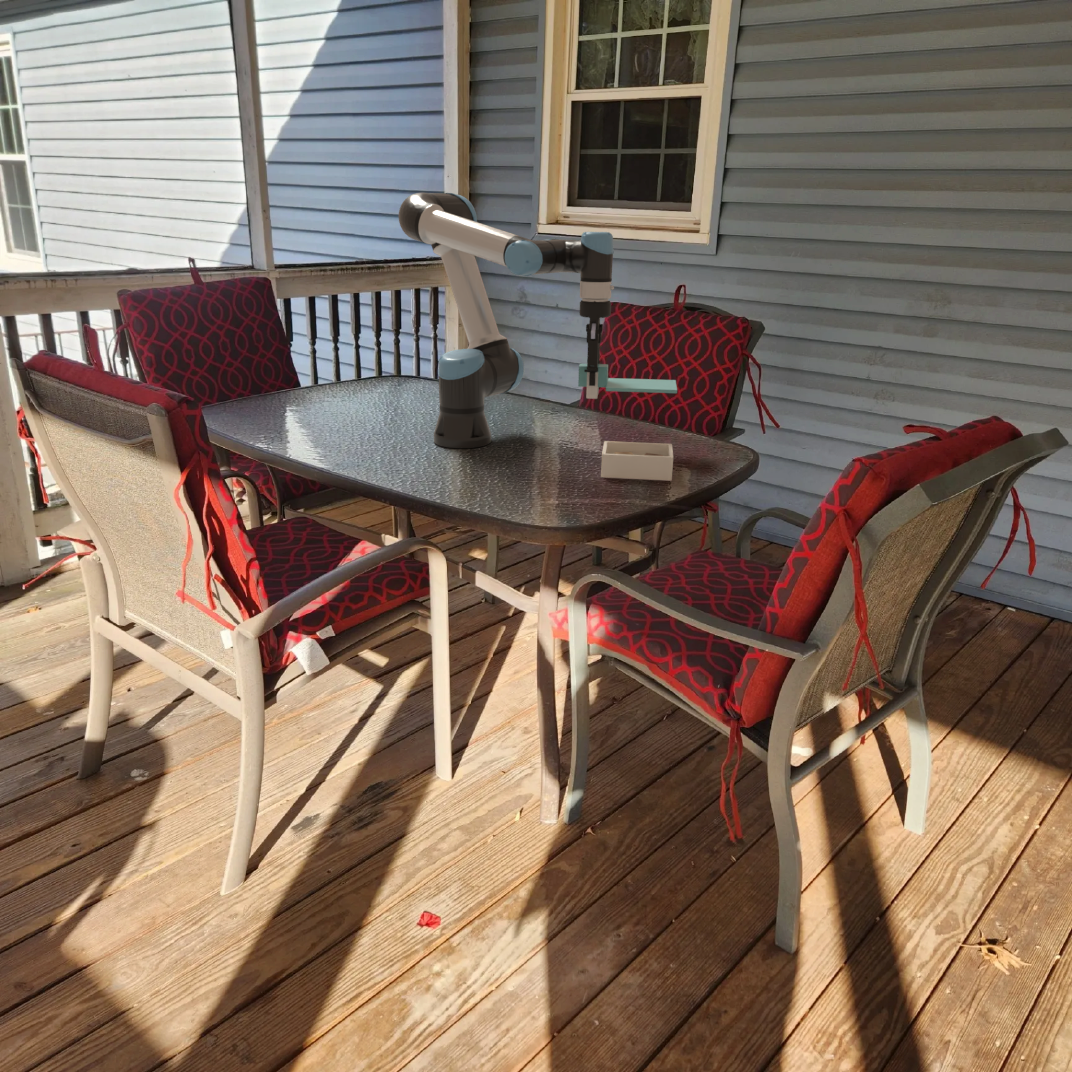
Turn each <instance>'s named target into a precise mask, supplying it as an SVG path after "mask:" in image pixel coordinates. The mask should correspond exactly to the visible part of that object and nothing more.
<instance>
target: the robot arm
mask: <svg viewBox="0 0 1072 1072" xmlns="http://www.w3.org/2000/svg"><path fill="white" fill-rule="evenodd" d="M398 222H399V226H400V228H401V230H402V231H403V233H404V234H405V235H406V236H407V237H408V238H410V239H412V240H414V241H417V242H421V243H424V244H426V245H430V246H431V248H432V252H433V253H434V254H436V255H437V256H439V257H440V259H441V261H442V263H443V266H444V271H445V273H446V276H447V280H448V282H449V284H450V285H449V286H450V288H451V292H452V295H453V298H454V301H455V304H456V307H457V310H458V313H459V316H460V319H461V322H462V326H463V329H464V332H465V335H466V338H467V341H468V347H467V348H461V349H454V350H450V351H447V352H445V353H443V354H441V356H440V357H439V359H438V369H437V374H438V399H439V415H438V418H437V421H436V424H435V428H434V432H433V443H434V444H435V445H437V446H440V447H442V448H451V449H473V448H480V447H484V446H487V445H489V444H490V443H491V442H492V432H491V429H490V426H489V423H488V420H487V417H486V414H485V398H488V397H492V396H496V395H503V394H505V393H509V392H510V391H513V390H514V389H516V388H517V387H518V386H519V385H521V384H520V383H521V382H522V379H523V377H524V373H525V365H524V361H523V357H522V356H521V354H520V353H519V352H518V351H517V350H516V349H515V348H513V347H510V345H509V342H508V341H509V340H508V338H507V337H506V336H504V335H502V334H500V331H499V329H498V325H497V321H496V319H495V315H494V313H493V310H492V306H491V304H490V300H489V296H488V294H487V290H486V288H485V284H484V281H483V279H482V275H481V272H480V269H479V265H478V262H477V260H476V257H477V258H480V259H482V260H483V259H484V260H486V261H489V262H491V263H494V264H497V265H499V266H500V265H501V266H503V267H505V268H507V269H508V270H509V272H510V273H512V274H513V275H517V276H525V277H529V276H533V275H534V276H535V275H543V274H555V273H572V274H573V273H575V274H580V281H579V298H580V299H581V300H580V301H579V316H580V317H582V318H589V323H587V324H586V325H585V331H586V343H587V362H586V364H587V370H584V372H587V387H586V393H585V394H586V399H591V400H592V399H593V400H597V399H598V395H599V388H600V387H598V364H601V361H600V354H601V353H600V352H601V350H600V349H601V343H602V339H603V337H602V336H603V335H602V334H603V330H604V323H601V319H602V318H610V316H611V313H612V302H611V301H610V299H611V298H612V290H614V289H615V286H614V285H613V284H612V283H613V282H612V281H613V280H612V279H613V277H612V275H613V259H614V237H613V236H614V235H613V234H612V233H611V232H609V231H584V232H582V234H581V238H580V239H578V240H575V239H560V238H550V239H542V240H540V239H539V240H534V239H529V238H526V237H524V236H520V235H517V234H514V233H511V232H509V231H504V230H502V229H499V228H496V227H493V226H490V225H486V224H484V223H480V222H478V217H477V213H476V210H475V208H474V206H473V204H472V202H471V201H470V200H469V199H467V198H466V197H465V196H463V195H460V194H457V193H452V192H444V193H441V192H440V193H437V192H436V193H435V192H416V193H413V194H411V195H409V196H408V197H407V196H406V198H405V199H404V200H402V203H401V205H400V208H399V211H398Z"/></svg>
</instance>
